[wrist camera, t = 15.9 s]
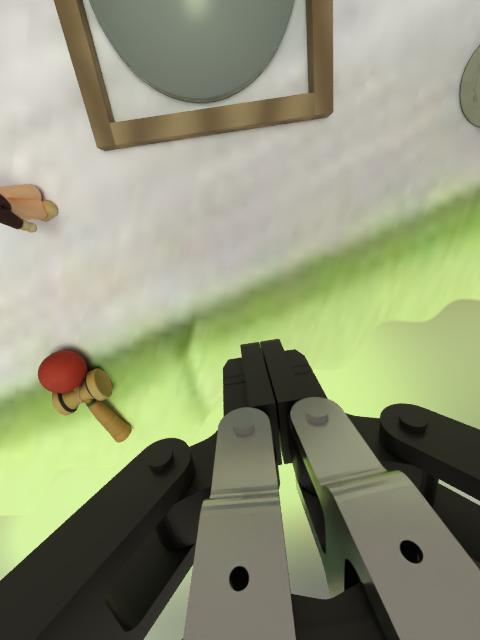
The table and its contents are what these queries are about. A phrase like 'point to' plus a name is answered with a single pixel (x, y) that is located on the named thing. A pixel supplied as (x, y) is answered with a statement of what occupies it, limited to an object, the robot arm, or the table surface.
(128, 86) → the table surface
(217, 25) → the dial
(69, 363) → the kendama
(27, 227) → the grandmother figurine
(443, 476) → the robot arm
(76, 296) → the table surface
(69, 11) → the dial frame
